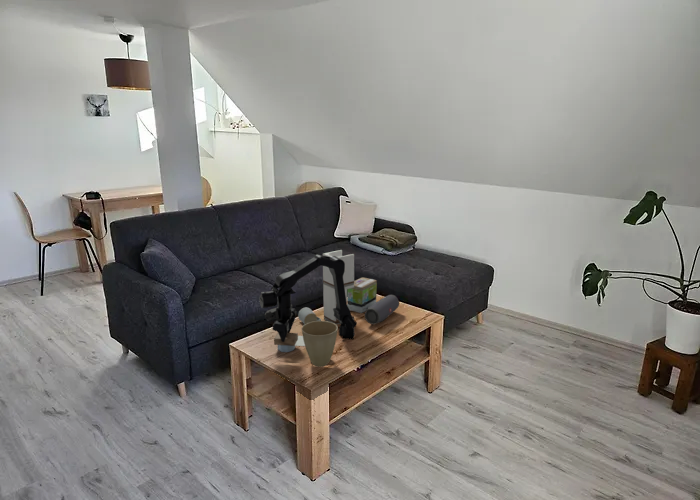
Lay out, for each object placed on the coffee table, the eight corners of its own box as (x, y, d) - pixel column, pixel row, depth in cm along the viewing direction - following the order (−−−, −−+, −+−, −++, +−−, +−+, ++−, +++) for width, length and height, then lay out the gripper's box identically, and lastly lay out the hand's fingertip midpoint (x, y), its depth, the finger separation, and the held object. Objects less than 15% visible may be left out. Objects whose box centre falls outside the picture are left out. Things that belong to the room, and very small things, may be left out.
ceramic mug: (304, 328, 231) (304, 314, 229) (297, 322, 237) (297, 308, 235) (324, 324, 236) (324, 310, 234) (316, 318, 243) (316, 304, 241)
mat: (310, 338, 220) (310, 336, 220) (305, 348, 211) (305, 346, 210) (289, 337, 221) (289, 335, 221) (284, 346, 212) (283, 344, 212)
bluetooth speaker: (379, 328, 230) (380, 309, 228) (363, 324, 235) (363, 306, 232) (400, 313, 249) (400, 295, 246) (384, 309, 254) (384, 292, 251)
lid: (297, 339, 210) (297, 331, 209) (294, 345, 204) (294, 338, 203) (278, 338, 211) (278, 330, 210) (274, 344, 205) (273, 337, 204)
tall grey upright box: (336, 325, 233) (335, 258, 224) (323, 319, 242) (322, 253, 232) (354, 320, 240) (354, 254, 231) (341, 313, 248) (341, 249, 239)
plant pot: (345, 361, 199) (345, 327, 194) (320, 375, 188) (319, 339, 184) (320, 350, 208) (319, 317, 204) (295, 363, 197) (294, 328, 193)
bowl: (296, 346, 212) (296, 338, 211) (292, 354, 205) (292, 346, 204) (280, 346, 213) (280, 337, 212) (276, 353, 206) (276, 345, 205)
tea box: (362, 313, 248) (362, 287, 244) (346, 309, 253) (346, 284, 250) (376, 304, 260) (377, 279, 256) (361, 301, 266) (361, 276, 262)
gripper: (272, 295, 213) (274, 327, 217) (259, 311, 195) (261, 345, 199) (296, 296, 211) (297, 328, 216) (285, 312, 194) (287, 347, 198)
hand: (285, 337), depth 207 cm, fingers open, 9 cm apart
